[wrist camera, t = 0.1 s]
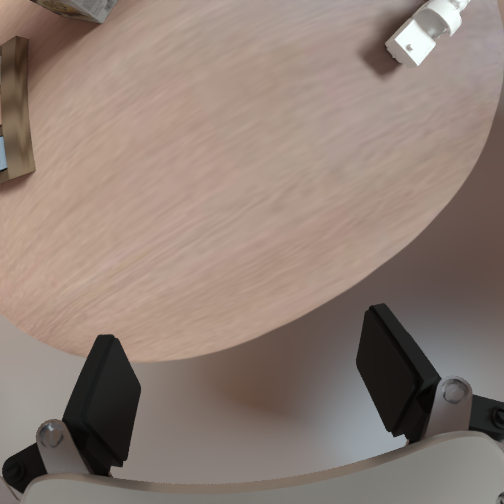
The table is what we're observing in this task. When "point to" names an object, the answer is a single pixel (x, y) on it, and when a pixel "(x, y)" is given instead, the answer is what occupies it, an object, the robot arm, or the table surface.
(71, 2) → the coffee box
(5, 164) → the key blue
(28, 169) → the key panel
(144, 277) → the table surface
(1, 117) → the key terracotta
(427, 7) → the toy train
